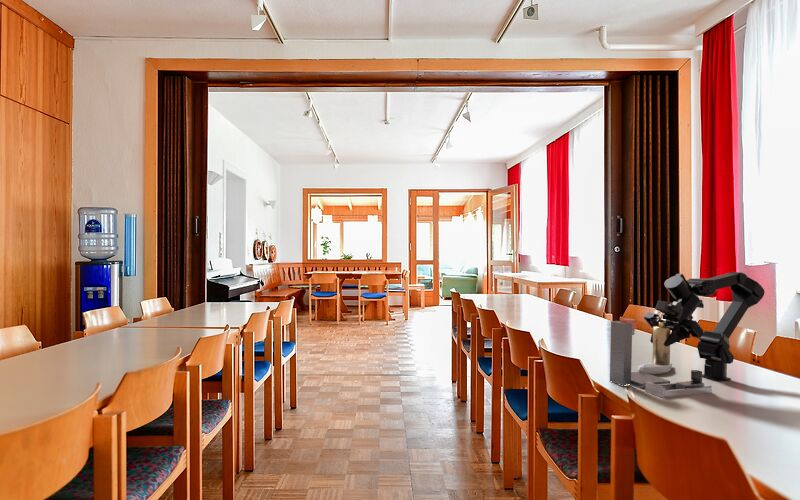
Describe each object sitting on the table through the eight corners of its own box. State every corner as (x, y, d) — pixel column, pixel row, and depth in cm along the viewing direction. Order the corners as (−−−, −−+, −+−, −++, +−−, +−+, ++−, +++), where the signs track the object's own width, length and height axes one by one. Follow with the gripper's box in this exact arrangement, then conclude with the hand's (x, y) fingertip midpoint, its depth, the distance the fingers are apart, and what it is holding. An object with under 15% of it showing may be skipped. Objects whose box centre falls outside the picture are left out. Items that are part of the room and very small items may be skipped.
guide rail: (693, 386, 152) (693, 377, 152) (711, 392, 146) (711, 383, 146) (645, 391, 146) (645, 381, 146) (662, 397, 140) (662, 387, 140)
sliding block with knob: (695, 388, 150) (696, 369, 150) (704, 391, 148) (704, 372, 148) (676, 390, 148) (676, 371, 148) (684, 393, 145) (685, 373, 145)
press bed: (640, 375, 164) (642, 315, 164) (670, 385, 153) (671, 321, 153) (603, 378, 160) (604, 316, 159) (630, 389, 148) (632, 322, 148)
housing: (667, 362, 156) (668, 321, 156) (671, 366, 151) (672, 324, 151) (651, 361, 158) (651, 320, 157) (654, 364, 153) (654, 323, 153)
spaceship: (650, 378, 161) (650, 365, 161) (632, 373, 167) (632, 361, 167) (683, 369, 175) (683, 357, 175) (665, 365, 180) (665, 353, 180)
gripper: (647, 289, 164) (622, 322, 161) (697, 295, 147) (669, 332, 143) (665, 311, 167) (640, 344, 164) (715, 319, 149) (688, 356, 146)
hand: (658, 343), depth 154 cm, fingers closed on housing, 5 cm apart
